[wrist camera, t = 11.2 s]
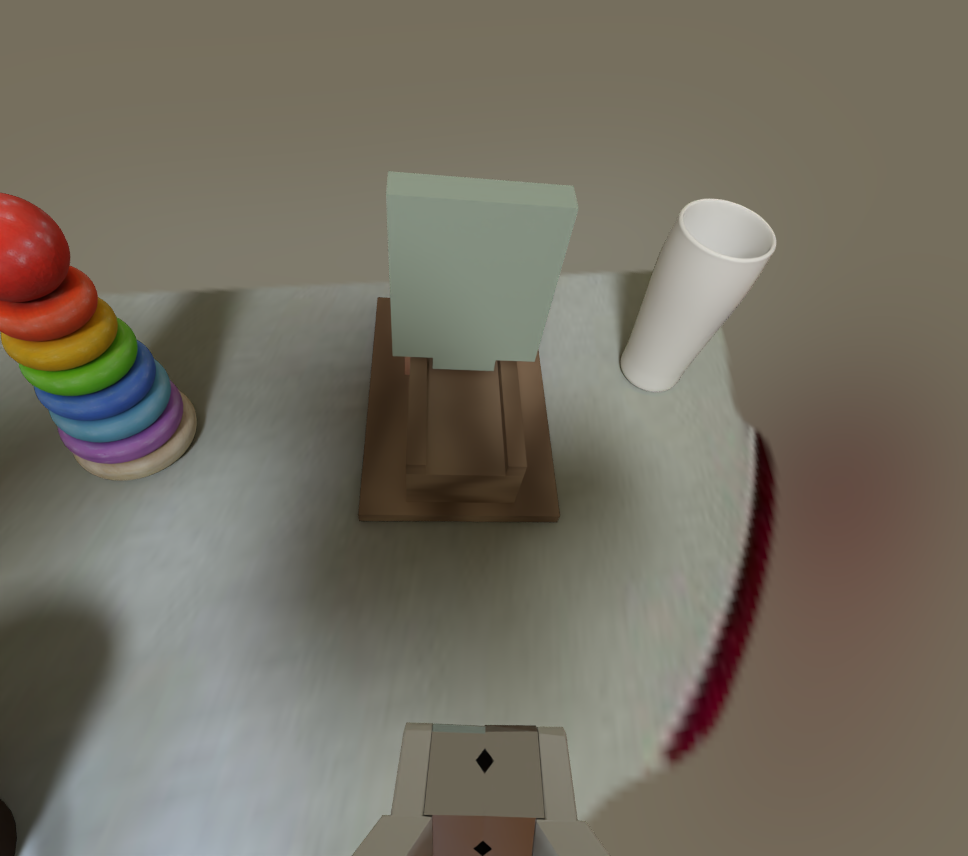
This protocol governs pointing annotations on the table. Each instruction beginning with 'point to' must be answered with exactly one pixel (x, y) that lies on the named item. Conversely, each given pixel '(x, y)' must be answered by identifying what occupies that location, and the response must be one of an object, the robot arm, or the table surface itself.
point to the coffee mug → (7, 831)
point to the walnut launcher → (455, 440)
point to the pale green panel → (473, 266)
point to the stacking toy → (84, 355)
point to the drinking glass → (695, 288)
